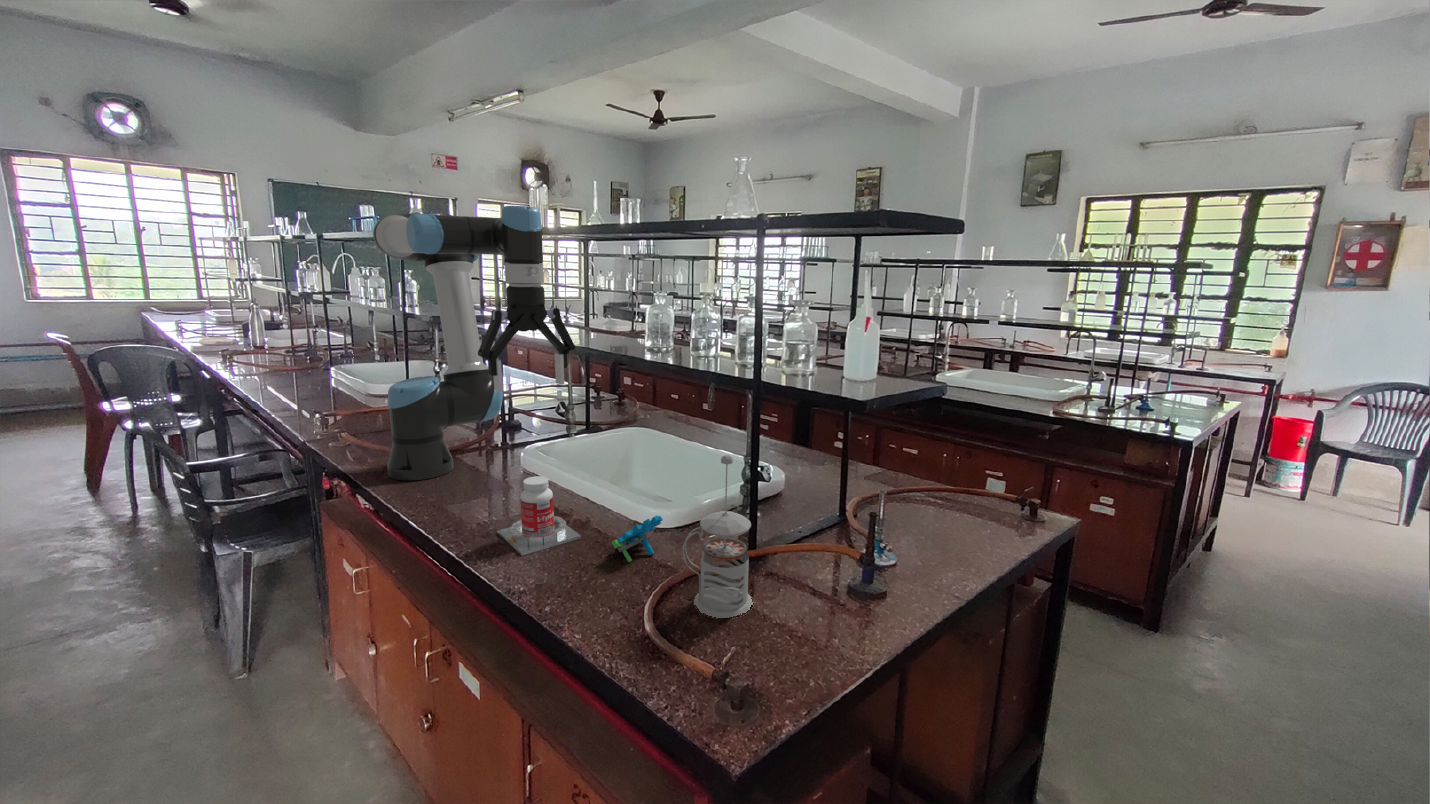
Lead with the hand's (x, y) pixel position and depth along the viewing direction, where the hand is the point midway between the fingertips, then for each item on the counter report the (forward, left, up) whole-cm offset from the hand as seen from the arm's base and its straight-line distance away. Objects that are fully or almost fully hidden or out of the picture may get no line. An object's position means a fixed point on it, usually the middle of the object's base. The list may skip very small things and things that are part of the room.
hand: (530, 387), depth 132 cm
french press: (+55, +7, -27) cm, 62 cm away
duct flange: (+15, -6, -27) cm, 31 cm away
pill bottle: (+15, -6, -26) cm, 31 cm away
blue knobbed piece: (+32, +6, -27) cm, 42 cm away
